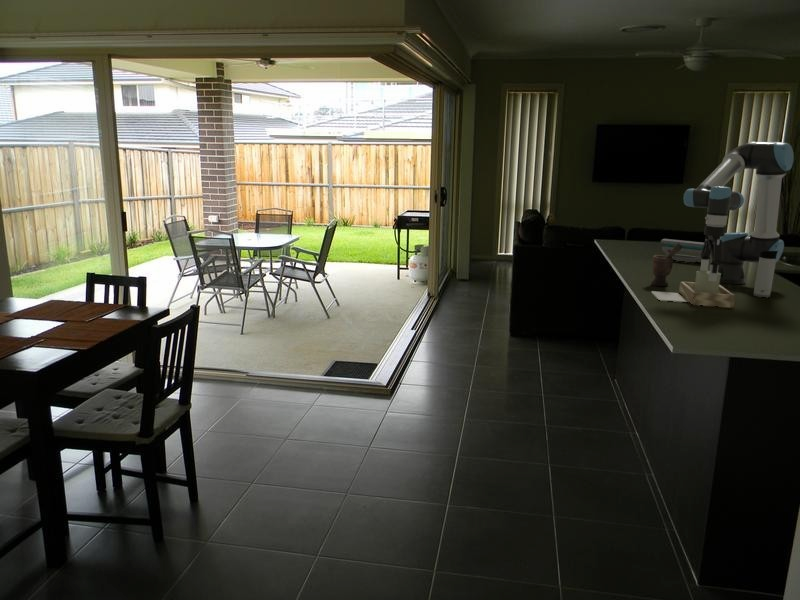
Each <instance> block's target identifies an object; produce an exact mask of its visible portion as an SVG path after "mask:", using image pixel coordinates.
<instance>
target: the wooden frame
mask: <svg viewBox="0 0 800 600" xmlns="http://www.w3.org/2000/svg"><path fill="white" fill-rule="evenodd" d="M694 288H695V282H693V281H680V282H679V287H678V293H680V294H681V295H682V297H683V298H685V299H686V300H687V301H688V303H689V302H690V303H691V304H693V305H692V306H700V305H703V307H715V306H718V308H719V307H720V308H730V309H733V308H734V306H735V300H736V295H735V294H734V293H733V292H731V291H730V290H728V289H727V288H725V287H724V286H723V285H721V284H719V289H718V294H716V293H701V292H695V291H694ZM690 303H689V304H690ZM691 304H690V305H691Z"/></svg>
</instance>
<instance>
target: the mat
mask: <svg viewBox="0 0 800 600" xmlns="http://www.w3.org/2000/svg"><path fill="white" fill-rule="evenodd" d="M651 294H652V295H653V296H654V297H655V299H656V300H657V299H658V300H660V301H659V302H667V301H673V302H672V303H682V302H688V301H687V300H686V299H685V298H684V297H683V296H681V295H680V294H679V292H670V291H669V292H666V291H655V290H652V291H651ZM658 300H657V301H658ZM688 303H689V302H688Z"/></svg>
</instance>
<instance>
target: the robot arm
mask: <svg viewBox="0 0 800 600" xmlns="http://www.w3.org/2000/svg"><path fill="white" fill-rule="evenodd" d="M794 156H795V155H794V150H793V147H792V145H791V144H789V143H788V142H780V141H749V142H745V143H743V144H740V145H738V146H736V147H735V148H733V149H731V150H730V151H728V152H727V153H726V154H725V156H724V157H723V159H722V161H721V163H720V164H719V165H718V166H716V168H715V169H714V170H713V171H712V172H711V173H710V174H709V175H708V176H707V177H706V178H705V179H704V180H703V181H702V182H701V183H700V184H699V185H698V186H697V187H696V188H688V189H686V190H685V191H684V193H683V203H684V205H685V206H687V207H692V208H700V209H701V208H702V209H707V211H706V216H704V220H705V226H704V229H703V230H704V232H703V235H705V236H704V237H705V239H704V242H703V243H704V245H703V249H702V252H701V255H700V256H701V258H700V259H701V261H700V262H701V263H700V270H699V271H710V273H709V280H708V281H716V279H717V273H721V276H720V282H719V284H721V283H722V284H728V285H729V284H730V285H743V284H745V283H746V275H745V269H744V264H745V263H744V262H748V263H753V264H758V263H759V259H760V258H759V257H760V252H761V251H762V252H764V251H778V253H777V256H776V263H777V262H778V261H779V260H780V259H781V256H782V254H783V252H784V249H785V242H784V240H783V239H780V234H779V232H778V231H777V228H778V219H779V218H778V216H779V209H780V207H779V206H780V199H781V189H782V182H783V181H782V179H783V178H784V177H785V176H786V175H787V173H788V172H787V171H790V170H791V169H792V167H793V164H794V158H795V157H794ZM746 169H747V170H749V169H751V170H755V175H756V176H757V177H758V178H759V179H758V191H757V200H756V210H755V221H754V229H753V231H751V232H750V234H749V233H748V232H726V227H725V226H727V224H728V223H727V221H728V215H729V211H735V210H739V209H741V208H742V206H743V205H744V203H745V198H744V195H743V194H742V193H741V192H740V191H735V190H734V191H732V188H731V187H730V186H726V184H727V183H728V182H729V181H730V180H731V179H732V178H733V177H734V176H735V175H736V174H739V173H740V172H742V171H743V170H746ZM710 256H711V257H710ZM710 260H711V262H710ZM709 267H710V268H709Z"/></svg>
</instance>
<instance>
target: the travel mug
mask: <svg viewBox="0 0 800 600" xmlns="http://www.w3.org/2000/svg"><path fill="white" fill-rule="evenodd" d="M777 253H778V251H764V252H762V251H761V252H760V257H759V258H760V259H759V263H757V264H758V265H757V270H756V276H755V283H754V289H753V296H754V297H756V296H757V297H756V298H761V297H766V298H765V299H769V298H770V297H771V292H772V286H773V281H774V274H775V270H776V263H777V262H776V256H777ZM768 297H769V298H768Z"/></svg>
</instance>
